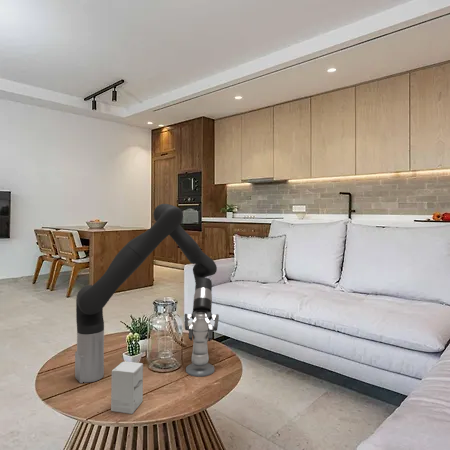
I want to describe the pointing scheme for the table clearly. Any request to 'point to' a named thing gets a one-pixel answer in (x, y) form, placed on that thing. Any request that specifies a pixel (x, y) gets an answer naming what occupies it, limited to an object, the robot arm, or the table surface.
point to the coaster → (200, 370)
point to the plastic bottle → (200, 340)
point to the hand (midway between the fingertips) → (200, 339)
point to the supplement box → (127, 387)
